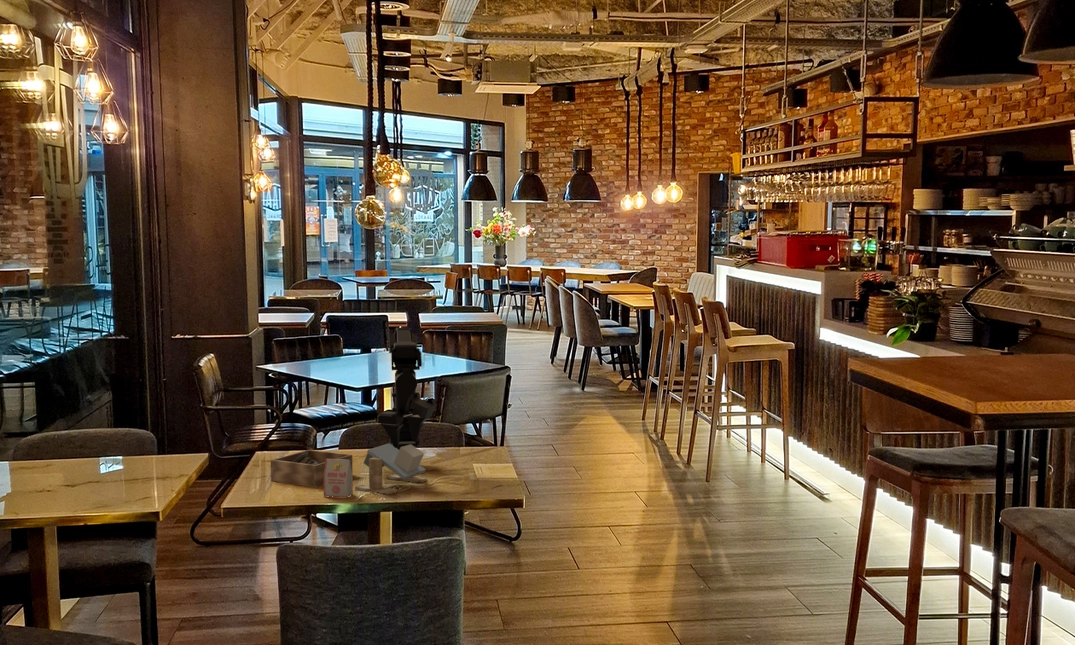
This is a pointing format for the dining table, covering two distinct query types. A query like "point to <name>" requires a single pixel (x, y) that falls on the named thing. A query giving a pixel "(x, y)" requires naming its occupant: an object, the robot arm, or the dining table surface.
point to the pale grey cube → (408, 458)
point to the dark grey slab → (391, 460)
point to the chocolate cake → (304, 459)
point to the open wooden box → (303, 468)
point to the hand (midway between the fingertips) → (405, 444)
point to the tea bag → (338, 478)
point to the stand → (376, 478)
